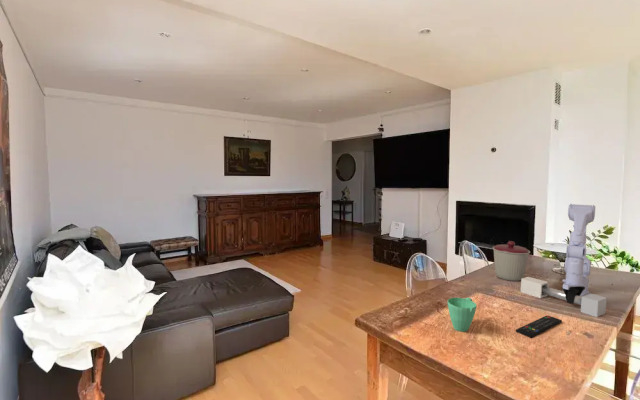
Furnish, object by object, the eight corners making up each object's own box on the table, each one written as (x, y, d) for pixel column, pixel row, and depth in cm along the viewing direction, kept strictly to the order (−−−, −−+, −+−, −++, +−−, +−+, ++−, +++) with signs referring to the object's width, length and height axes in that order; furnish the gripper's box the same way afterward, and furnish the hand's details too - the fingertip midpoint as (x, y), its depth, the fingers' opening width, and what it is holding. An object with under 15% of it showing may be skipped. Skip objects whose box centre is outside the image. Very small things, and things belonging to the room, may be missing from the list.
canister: (528, 276, 179) (530, 240, 177) (528, 286, 164) (531, 246, 162) (492, 271, 188) (493, 236, 187) (489, 279, 173) (491, 242, 172)
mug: (470, 338, 110) (472, 310, 110) (442, 329, 117) (443, 303, 116) (481, 323, 121) (483, 298, 121) (455, 316, 128) (456, 292, 127)
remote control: (515, 333, 115) (515, 329, 115) (547, 318, 128) (547, 315, 128) (531, 339, 111) (531, 335, 111) (562, 323, 123) (562, 320, 123)
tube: (538, 290, 153) (538, 283, 152) (594, 307, 133) (595, 299, 133) (534, 291, 151) (534, 284, 150) (590, 309, 132) (591, 301, 131)
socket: (589, 308, 137) (590, 293, 136) (605, 313, 132) (606, 297, 131) (580, 311, 133) (581, 296, 132) (596, 317, 128) (598, 301, 128)
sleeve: (527, 289, 158) (528, 276, 158) (547, 295, 150) (548, 282, 150) (520, 291, 155) (521, 278, 155) (540, 298, 147) (541, 284, 147)
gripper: (571, 267, 145) (569, 296, 146) (555, 272, 138) (553, 302, 139) (590, 272, 139) (588, 301, 140) (574, 276, 132) (572, 308, 133)
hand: (572, 302), depth 139 cm, fingers closed on tube, 4 cm apart
